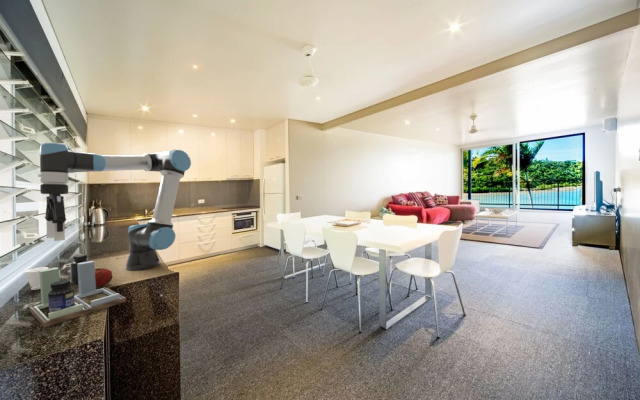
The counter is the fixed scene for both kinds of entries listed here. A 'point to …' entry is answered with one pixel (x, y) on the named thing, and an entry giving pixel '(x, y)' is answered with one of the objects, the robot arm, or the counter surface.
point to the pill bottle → (61, 296)
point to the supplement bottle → (74, 266)
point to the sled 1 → (45, 285)
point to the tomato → (102, 276)
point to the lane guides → (79, 313)
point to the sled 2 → (91, 285)
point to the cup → (34, 277)
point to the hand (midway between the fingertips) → (55, 238)
